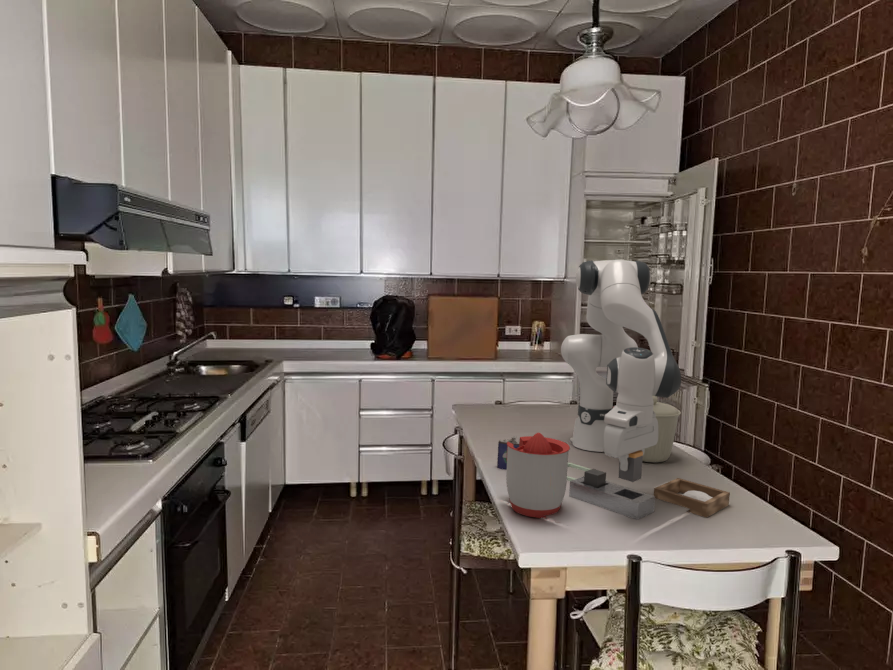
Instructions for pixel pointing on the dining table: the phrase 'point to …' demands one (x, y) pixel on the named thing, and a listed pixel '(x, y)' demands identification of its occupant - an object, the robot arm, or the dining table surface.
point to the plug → (633, 467)
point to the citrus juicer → (536, 475)
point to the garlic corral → (695, 506)
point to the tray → (576, 468)
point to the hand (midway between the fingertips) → (630, 468)
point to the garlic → (697, 495)
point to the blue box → (504, 451)
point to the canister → (663, 432)
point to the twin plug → (595, 478)
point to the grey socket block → (614, 498)
